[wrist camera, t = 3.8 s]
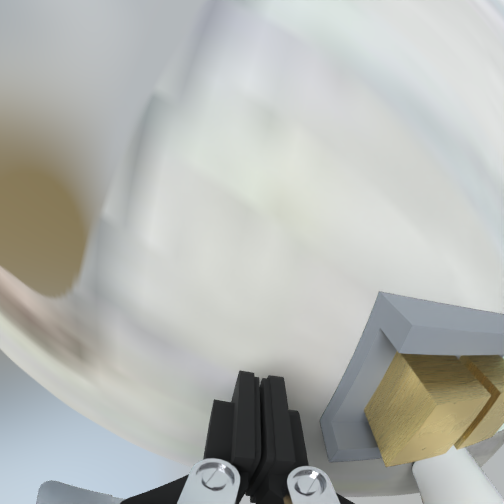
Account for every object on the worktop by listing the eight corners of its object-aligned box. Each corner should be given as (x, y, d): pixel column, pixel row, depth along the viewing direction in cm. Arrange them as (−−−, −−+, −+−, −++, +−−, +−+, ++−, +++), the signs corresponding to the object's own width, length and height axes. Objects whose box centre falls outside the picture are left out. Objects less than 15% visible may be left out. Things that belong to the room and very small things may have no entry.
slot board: (379, 291, 11) (412, 325, 8) (509, 315, 12) (537, 335, 9) (319, 420, 14) (329, 462, 10) (455, 410, 14) (472, 436, 11)
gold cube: (397, 349, 11) (437, 405, 7) (452, 352, 11) (491, 395, 7) (363, 410, 12) (385, 466, 8) (418, 407, 12) (445, 453, 8)
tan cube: (462, 352, 11) (501, 393, 7) (496, 352, 11) (530, 384, 7) (429, 406, 12) (456, 449, 8) (466, 400, 12) (492, 436, 8)
